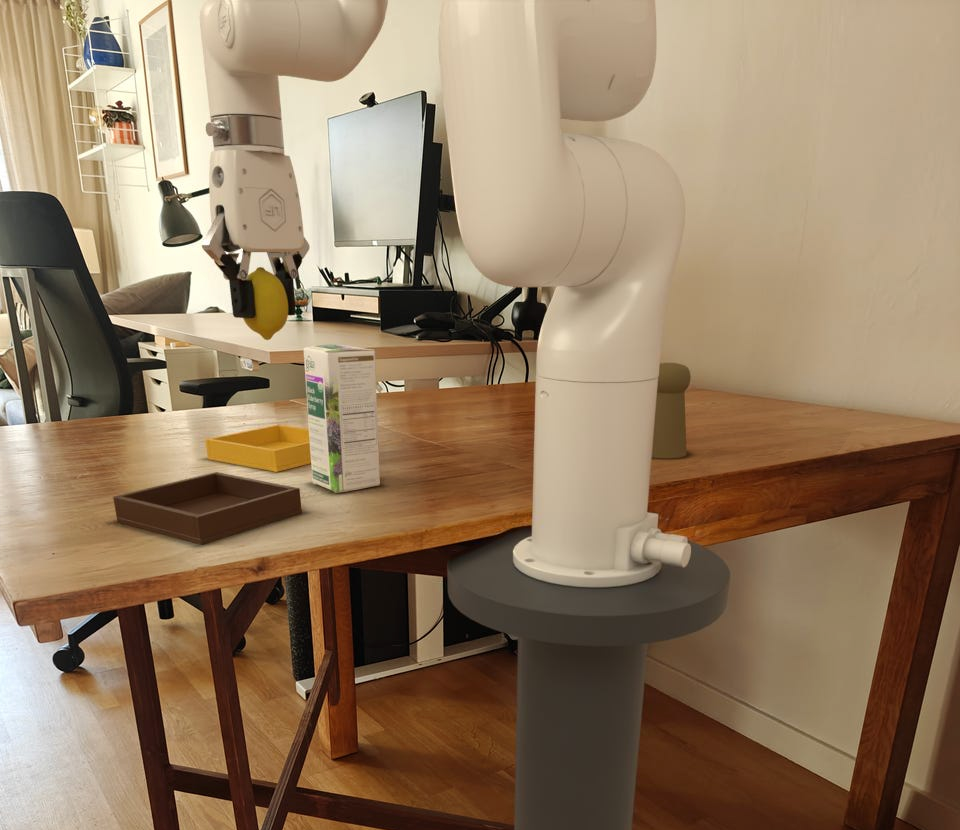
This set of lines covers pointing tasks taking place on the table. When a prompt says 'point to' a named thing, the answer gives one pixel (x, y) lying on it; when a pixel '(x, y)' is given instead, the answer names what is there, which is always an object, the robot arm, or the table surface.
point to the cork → (670, 411)
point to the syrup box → (342, 416)
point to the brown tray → (207, 506)
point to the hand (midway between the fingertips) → (265, 314)
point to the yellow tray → (263, 448)
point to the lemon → (267, 304)
